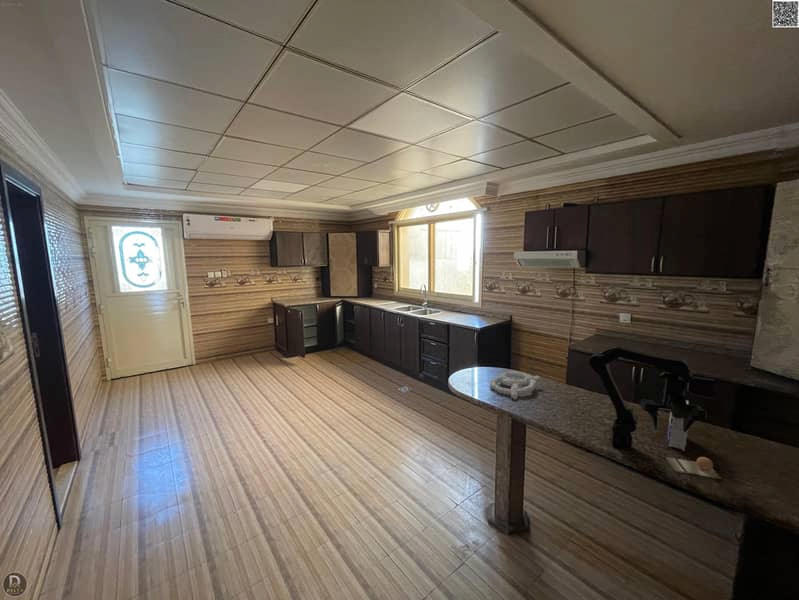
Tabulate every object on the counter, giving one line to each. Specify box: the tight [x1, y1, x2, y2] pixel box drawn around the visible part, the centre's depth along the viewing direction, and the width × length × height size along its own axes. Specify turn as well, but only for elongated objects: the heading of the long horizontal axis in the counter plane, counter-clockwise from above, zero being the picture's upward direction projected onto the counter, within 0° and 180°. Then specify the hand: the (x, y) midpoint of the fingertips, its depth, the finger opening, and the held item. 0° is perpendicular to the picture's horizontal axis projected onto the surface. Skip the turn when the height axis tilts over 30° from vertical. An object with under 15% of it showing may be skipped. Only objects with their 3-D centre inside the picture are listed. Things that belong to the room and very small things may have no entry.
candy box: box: [667, 400, 690, 452], centre depth 136 cm, size 14×6×16 cm, turn 141°
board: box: [665, 456, 722, 480], centre depth 120 cm, size 13×8×1 cm, turn 71°
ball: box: [696, 456, 714, 470], centre depth 118 cm, size 4×4×4 cm
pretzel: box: [489, 370, 542, 400], centre depth 190 cm, size 28×24×6 cm
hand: (669, 429), depth 124 cm, fingers open, 9 cm apart
